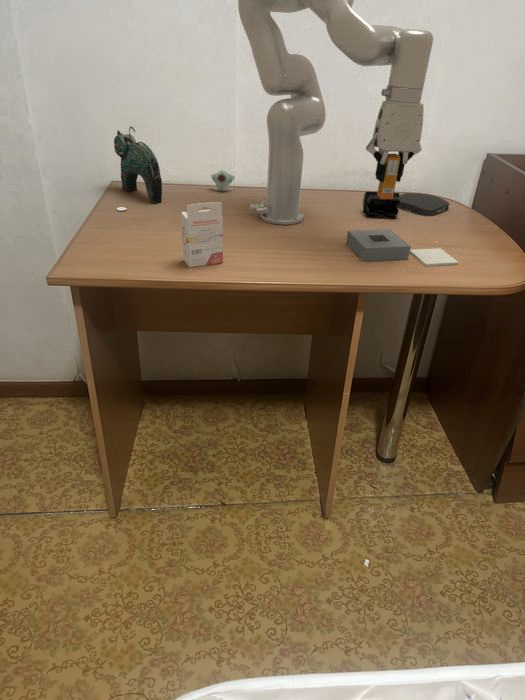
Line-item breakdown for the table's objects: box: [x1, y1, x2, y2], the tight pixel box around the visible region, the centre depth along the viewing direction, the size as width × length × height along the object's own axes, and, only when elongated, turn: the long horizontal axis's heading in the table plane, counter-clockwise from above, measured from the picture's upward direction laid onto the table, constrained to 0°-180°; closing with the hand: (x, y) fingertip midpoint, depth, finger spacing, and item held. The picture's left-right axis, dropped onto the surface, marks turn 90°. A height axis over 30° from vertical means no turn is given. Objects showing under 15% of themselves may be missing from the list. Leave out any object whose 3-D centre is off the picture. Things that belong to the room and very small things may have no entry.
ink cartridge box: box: [180, 201, 224, 268], centre depth 119 cm, size 9×5×15 cm, turn 114°
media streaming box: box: [397, 192, 450, 217], centre depth 166 cm, size 15×15×3 cm
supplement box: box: [377, 153, 400, 199], centre depth 123 cm, size 3×3×10 cm
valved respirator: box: [210, 169, 236, 192], centre depth 168 cm, size 8×4×7 cm, turn 85°
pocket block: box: [345, 228, 412, 263], centre depth 132 cm, size 12×12×4 cm
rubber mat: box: [409, 247, 460, 267], centre depth 131 cm, size 9×9×1 cm
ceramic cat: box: [113, 126, 163, 205], centre depth 157 cm, size 20×6×20 cm, turn 43°
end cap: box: [362, 190, 400, 220], centre depth 156 cm, size 10×7×7 cm
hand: (388, 179), depth 124 cm, fingers closed on supplement box, 3 cm apart
